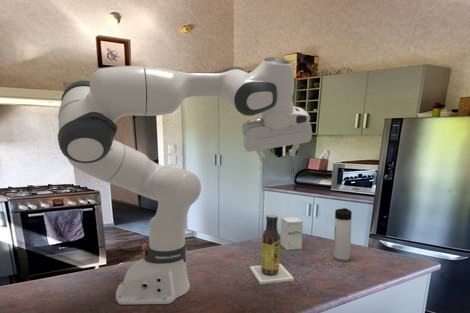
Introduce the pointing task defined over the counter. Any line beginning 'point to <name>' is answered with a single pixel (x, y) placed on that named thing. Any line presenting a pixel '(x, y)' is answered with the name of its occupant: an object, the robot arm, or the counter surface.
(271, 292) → the counter surface
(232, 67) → the robot arm
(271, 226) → the sauce bottle
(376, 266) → the counter surface
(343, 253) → the travel mug
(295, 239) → the supplement box
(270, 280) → the tile
